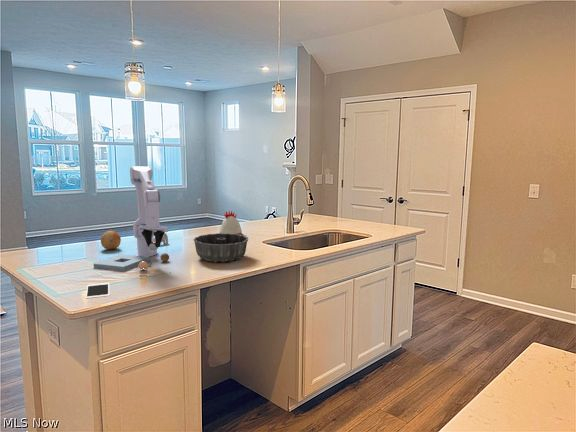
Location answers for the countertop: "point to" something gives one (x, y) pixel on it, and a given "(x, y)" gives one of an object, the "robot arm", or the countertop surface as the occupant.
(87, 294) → the cell phone
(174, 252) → the countertop surface
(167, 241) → the caliper
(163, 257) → the walnut ball
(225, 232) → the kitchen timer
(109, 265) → the hole plate
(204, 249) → the bundt pan
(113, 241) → the onion
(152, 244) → the steel ball
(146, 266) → the terracotta ball
